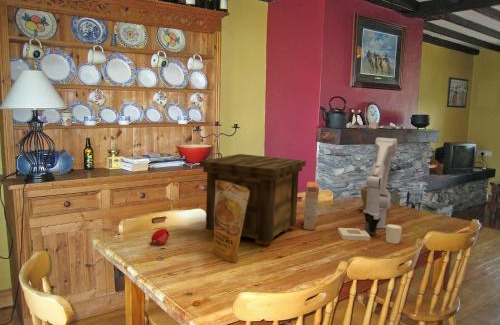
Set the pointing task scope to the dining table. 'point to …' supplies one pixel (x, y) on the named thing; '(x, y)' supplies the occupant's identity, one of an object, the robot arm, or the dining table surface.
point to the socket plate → (353, 234)
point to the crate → (258, 192)
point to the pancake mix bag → (229, 218)
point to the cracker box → (311, 205)
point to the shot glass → (393, 233)
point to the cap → (160, 236)
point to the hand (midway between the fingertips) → (370, 230)
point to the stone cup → (365, 198)
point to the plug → (369, 230)
